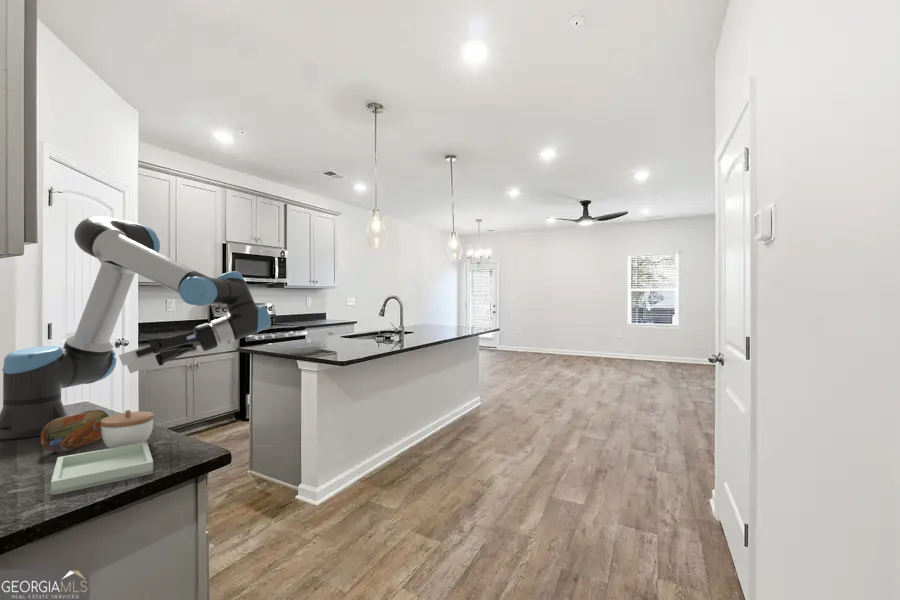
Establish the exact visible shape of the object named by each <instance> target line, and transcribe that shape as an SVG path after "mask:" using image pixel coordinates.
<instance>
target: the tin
mask: <svg viewBox="0 0 900 600" xmlns="http://www.w3.org/2000/svg"><path fill="white" fill-rule="evenodd" d="M108 416H109V414H108V413H107V412H106V411H104V410H102V409H93V410H91V409H89V410H85V411H81V412H78V413H77V412H76V413H74V414H71V415H69V414H68V416H65V417H61V418H57V419H54V420H52V421H51V422H49V423H48V424H47V425H46V426H45V427H44V428H43V430H42V432H41V435H40V437H39V439H40V440H39V442H40V445H41V447H42V448H43V449H44V450H46V451H48V452H52V453H66V452H68V451H71V450H74V449H78V448H81V447H84V446H87V445H90V444H93V443H97V442H98V441H100V440H102V435H101V425H100V421H101V420H102V419H103V418H106V417H108Z"/></svg>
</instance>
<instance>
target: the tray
mask: <svg viewBox="0 0 900 600" xmlns="http://www.w3.org/2000/svg"><path fill="white" fill-rule="evenodd" d="M56 458H57V459H56V463H55V465H54V470H53V473H52V477H51V480H50V496H55V495H60V494H64V493H69V492H73V491H77V490H83V489H88V488H91V487H92V488H93V487H97V486H101V485H106V484H112V483H116V482H121V481H125V480H130V479H134V478H139V477H145V476H149V475H153V474H154V460H153V456H152V452H151V450H150V447H149V444H148V441H145V442H144V443H138V444H132V445H126V446H120V447H115V448H109V447H108V448H104V449H99V450H93V451H87V452H80V453H74V454H69V455H63V456H58V457H56Z"/></svg>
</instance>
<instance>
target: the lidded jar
mask: <svg viewBox="0 0 900 600" xmlns="http://www.w3.org/2000/svg"><path fill="white" fill-rule="evenodd" d="M154 417H155V416H154V412H151V411H131V409H126V410H125V412H122V413H117V414H116V413H115V414H113V415H108V417H106V418H103V419H102V420H101V421H100V425H101V435H102V438H101V440H102V442H103V443H104V444H105V446H107V447H108V449H109V448H115V447H120V446H126V445H132V444H138V443H144V442H147V441H148V439H149V438H150V437H151V434H152V431H153V429H154V428H153V426H154Z"/></svg>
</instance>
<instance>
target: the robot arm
mask: <svg viewBox="0 0 900 600" xmlns="http://www.w3.org/2000/svg"><path fill="white" fill-rule="evenodd" d="M73 233H74V241H75V243H76V245H77V246H78V248H80V250H82V252H84V253H86V254H88V255H89V256H92V257H94V258H95V259H97V260H98V261H99V263H100V267H99V270H98V273H97V275H96V278H95V280H94V283H93V286H92V289H91V291H90V294H89V297H88V299H87V301H86V305H85V307H84V309H83V311H82V315H81V318H80V320H79V322H78V325H77V327H76V331H75V334H73V335H72V336H71V335H70V336H69V337H67V338H66V339H65V342H64V345H63V348H62V347H61V346H59V345H44V346H43V345H42V346H37V347H36V346H35V347H34V346H33V347H27V348H21V349H17V350H14V351H12V352H9V353H8V354H7V355H6V356H5V357H4V359H3V367H2V374H3V376H2V381H3V382H2V409H1V411H0V440H16V439H18V440H19V439H26V438H27V439H28V438H33V437H39V436H41V432H42V430H43V428H44V427H45V426H46V425H47V424H48V423H49V422H51V421H52V420H54V419H57V418H61V417H65V416H69V414H68V413H67V411H66V408H65V406H64V404H63V401H62V389H64V388H69V387H75V386H76V387H77V386H78V385H79V386H80V385H87V384H89V385H90V384H93V383H96V382H99V381H102V380H105V379H106V378H107V377H109V376H110V375H111V374H112V373H113V372H114V369H116V368H115V367H116V365H117V357H115V356H116V352H115V351H114V350H113V348H114V346H113V344H112V343H111V342H110V339H111V337H112V336H113V332H114V329H115V327H116V324H117V322H118V319H119V317H120V314H121V311H122V308H123V306H124V303H125V301H126V298H127V295H128V293H129V291H130V290H129V289H130V287H131V285H132V283H133V279H134V277H135V275H136V274H137V275H140V276H141V277H144V278H146V279H148V280H150V281H152V282H154V283H155V284H158V285H160V286H161V287H164V288H165V289H168V290H170V291H172V292H174V293H176V294H179V296H180V298H181V299H182V301H183V302H184V303H186V304H187V305H191V306H198V307H205V306H225V307H226V309H227V311H228V313H229V315H227V316H223V317H220V318H217V319H213V320H210V323H209V322H205V323H203V324H199V325H196V326H194V331H190V332H188V333H185V334H180V335H176V336H172V337H167V338H163V339H158V340H151V341H148V343H149V345H145V346H142V347H140V348H136V349H133V350H131V351H127V352H124V353H121V354H119V355H118V358H119V360H120V362H121V364H122V366H123V367H124V366H126V367H127V369H128V372H129V374H132V373H135V372H138V371H142V370H144V369H147V368H150V367H152V366H156V365H158V366H159V367H161V366H163V365H164V364H165V363H166V362H169V361H171V360H173V359H175V358H178V357H180V356H184V355H185V354H187V353H189V352H193V351H196V350H197V347H198V346H200V348H201V349H202V351H204V352H208V351H210V350H212V349H216V348H217V347H218V345H219V346H223V345H226V344H228V345H232V342H234V341H237V340H240V339H242V338H243V339H244V338H246V337H249V336H251V335H255V334H258V333H259V332H261V331H264V330H266V329H269V328H270V327H271V325H272V320H271V316H270V313H269V311H268V309H267V308H266V306H265V305H262V304H261V305H257V304H256V302H255V301H254V298H253V296H252V294H251V293H252V292H250V288H249V287H248V283H247V281H246V280H245V278H244V277H243V274H242V273H241V272H240V271H234V270H233V271H229V272H225V273H222V274H221V275H219V276H217V277H215V278H214V277H210V276H207V275H205V274H203V273H202V272H199V271H197V270H195V269H193V268H191V267H189V266H187V265H185V264H183V263H181V262H179V261H176V260H174V259H172V258H170V257H169V256H167V255H164V254H162V253H161V252H160V250H161V245H160V239H159V237H158V235H157V233H156V232H155V231H154V230H153V229H152V228H151V227H149V226H146V225H144V224H141V223H137V222H135V221H134V222H133V221H127V220H124V219H123V220H122V219H117V218H113V217H108V216H102V215H97V216H90V217H87V218H85V219H83V220H82V221H80V222H79V223H77V226H76V228H75V230H74V232H73Z"/></svg>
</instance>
